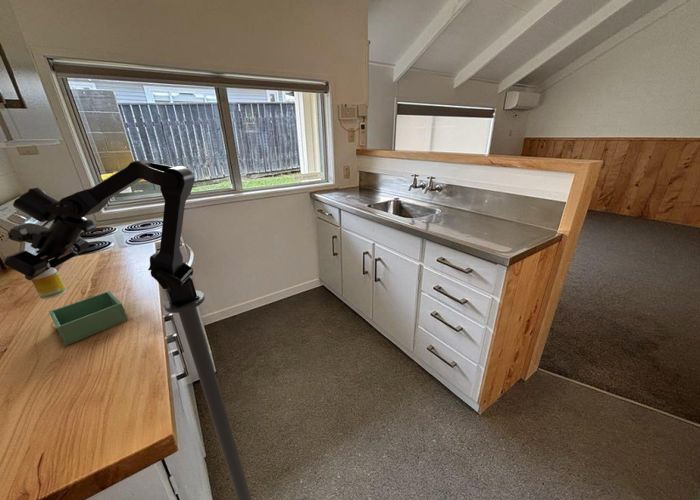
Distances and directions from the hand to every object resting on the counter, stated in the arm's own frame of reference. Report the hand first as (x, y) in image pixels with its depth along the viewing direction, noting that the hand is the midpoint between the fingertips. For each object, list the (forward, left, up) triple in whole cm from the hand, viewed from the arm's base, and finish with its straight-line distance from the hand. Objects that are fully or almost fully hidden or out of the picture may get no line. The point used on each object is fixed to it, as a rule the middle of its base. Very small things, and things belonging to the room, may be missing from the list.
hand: (37, 274), depth 77 cm
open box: (-5, +18, -12) cm, 22 cm away
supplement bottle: (-1, +1, -7) cm, 7 cm away
